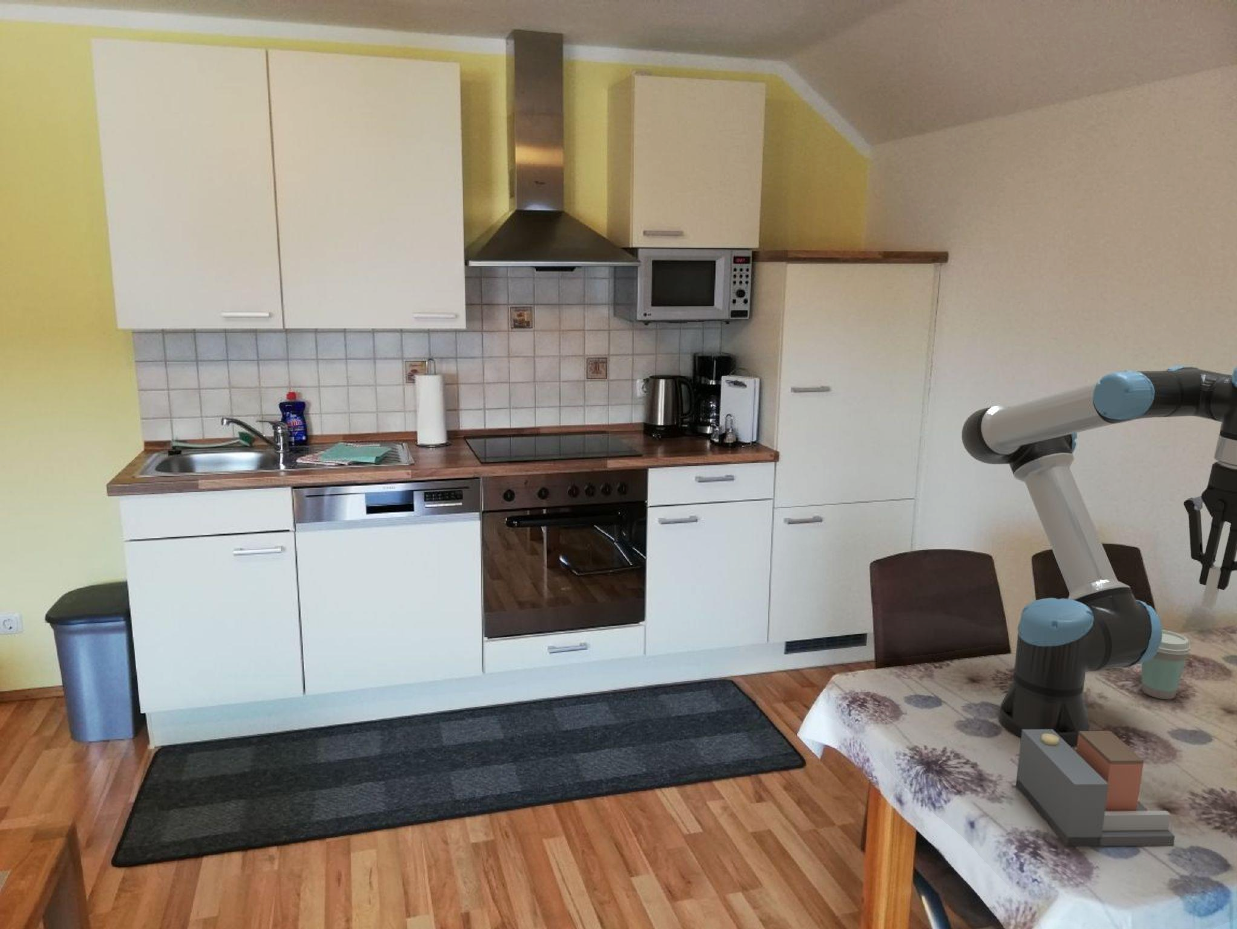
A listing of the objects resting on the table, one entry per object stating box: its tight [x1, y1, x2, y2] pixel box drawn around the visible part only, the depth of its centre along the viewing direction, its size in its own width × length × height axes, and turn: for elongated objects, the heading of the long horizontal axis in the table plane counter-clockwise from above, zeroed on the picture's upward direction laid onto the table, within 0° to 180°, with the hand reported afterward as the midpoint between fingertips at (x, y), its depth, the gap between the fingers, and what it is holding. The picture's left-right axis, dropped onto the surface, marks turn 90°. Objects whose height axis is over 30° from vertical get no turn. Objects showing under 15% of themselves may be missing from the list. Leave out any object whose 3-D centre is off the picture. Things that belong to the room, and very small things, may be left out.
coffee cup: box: [1141, 629, 1192, 700], centre depth 181 cm, size 8×8×12 cm
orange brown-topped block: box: [1075, 730, 1145, 811], centre depth 139 cm, size 5×9×10 cm, turn 2°
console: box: [1015, 729, 1176, 847], centre depth 139 cm, size 16×16×11 cm
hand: (1208, 605), depth 148 cm, fingers closed
